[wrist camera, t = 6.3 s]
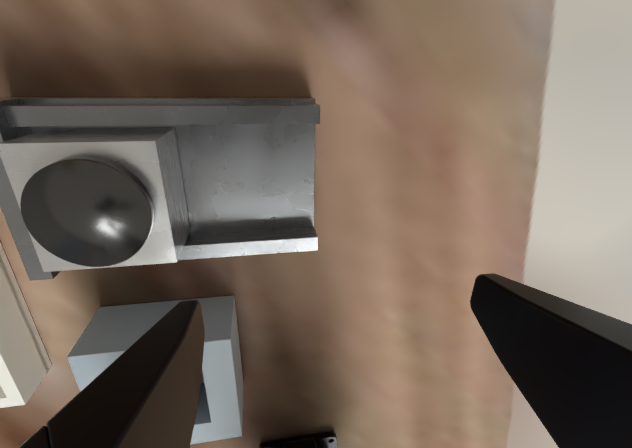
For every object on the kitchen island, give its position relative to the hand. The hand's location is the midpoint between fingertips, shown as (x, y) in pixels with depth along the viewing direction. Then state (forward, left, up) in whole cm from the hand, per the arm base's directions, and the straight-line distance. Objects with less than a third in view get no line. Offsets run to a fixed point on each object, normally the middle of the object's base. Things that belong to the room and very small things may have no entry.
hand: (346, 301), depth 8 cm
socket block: (-12, +8, -12) cm, 19 cm away
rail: (0, +6, -12) cm, 13 cm away
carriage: (0, +8, -11) cm, 14 cm away
